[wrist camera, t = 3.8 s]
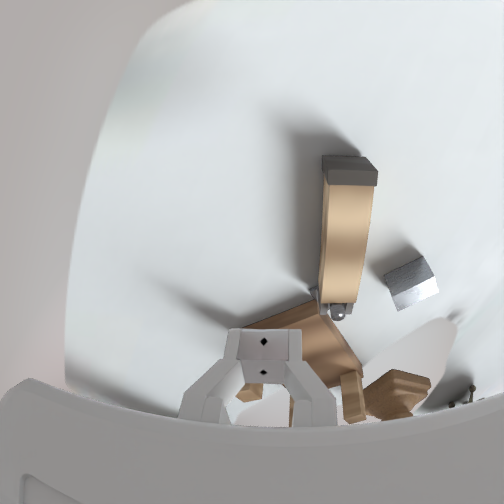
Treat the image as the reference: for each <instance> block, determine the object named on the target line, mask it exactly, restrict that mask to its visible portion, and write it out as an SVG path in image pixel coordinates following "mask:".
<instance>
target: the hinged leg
mask: <svg viewBox="0 0 504 504" xmlns="http://www.w3.org/2000/svg"><path fill="white" fill-rule="evenodd" d="M322 170H323V173H324V188H323V214H322V234H321V250H320V264H319V277H318V282H319V292H318V300H319V310H320V315H327V309H328V303H343V305H344V310H345V314H351V313H352V309H353V304H354V303H356V300H357V295H358V290H359V285H360V280H361V275H362V269H363V264H364V258H365V252H366V246H367V239H368V233H369V226H370V218H371V210H372V202H373V193H374V186H377V178H378V171H377V169H376V168H375V167H374V166H373V165H372V164H371V163H370V161H369V160H368V159H367V158H366V157H357V156H322Z"/></svg>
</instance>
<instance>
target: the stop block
mask: <svg viewBox="0 0 504 504" xmlns="http://www.w3.org/2000/svg"><path fill="white" fill-rule="evenodd" d="M384 277H385V280H386V282H387V285H388V288H389V290H390V293H391V296H392V298H393V301H394V303H395V306H396V308H397V311H400V310H402V309H404V308H406V307H408V306H411V305H413V304H415V303H417V302H419V301H421V300H423V299H425V298H427V297H429V296H432V295H434V294H436V293H438V288H437V284H436V280H435V276H434V274H433V272H432V271H431V269H430V267H429V265H428V264H427V262H426V260H425V258H424V257H421V258H419V259H417V260H415V261H413V262H411V263H409V264H406V265H404V266H402V267H400V268H398V269H396V270H394V271H392V272H390V273H388V274H386V275H384Z"/></svg>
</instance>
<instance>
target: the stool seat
mask: <svg viewBox="0 0 504 504" xmlns="http://www.w3.org/2000/svg"><path fill="white" fill-rule="evenodd" d="M240 329H262V330H265V329H301V331H302V361H306V362H307V363H308V364H309V366H310V367H311V368H312V369H313V371H314V372H315V373H316V374H317V376H318V377H319V378H320V379H321V381H322V382H323V383H324V384H325V386H326V387H327V388H328V389H329V388H332V387H335V386H339V385H341V390H342V402H343V415H344V420H345V421H346V422H348V423H349V424H352V423H356V422H360V421H363V420H366V411H365V403H364V395H363V388H362V381H361V378H363V370H362V364H361V363H360V361H359V360H358V358H357V357H356V355H355V354H354V352H353V351H352V349H351V348H350V346H349V345H348V343H347V342H346V340H345V339H344V337H343V336H342V334H341V333H340V332H339V330H338V329H337V327H336V326H335V324H334V323H333V321H332V320H331V318H330V317H329V315H328V314H327V315H320V310H319V303H318V302H317V301H316V300H315V299H314V300H312V301H310V302H307V303H305V304H302V305H300V306H297V307H295V308H292V309H290V310H287V311H285V312H282V313H280V314H277V315H275V316H272V317H270V318H267V319H264V320H262V321H259V322H257V323H254V324H251V325H249V326H246V327H243V328H240ZM282 385H283V386H284V387H285V385H284V384H282ZM285 388H286V387H285ZM262 392H263V383H245V385H244V386H243V387H242V388H241V390H240V391H239V392H238V393H237V395H236V396H235V397H237V398H238V399H240V400H241V401H242V402H249V401H254V400H259V399H262ZM294 403H295V401H294V400H293V398H292V397H291V395H290V413H289V427H292V419H293V409H294Z"/></svg>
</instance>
